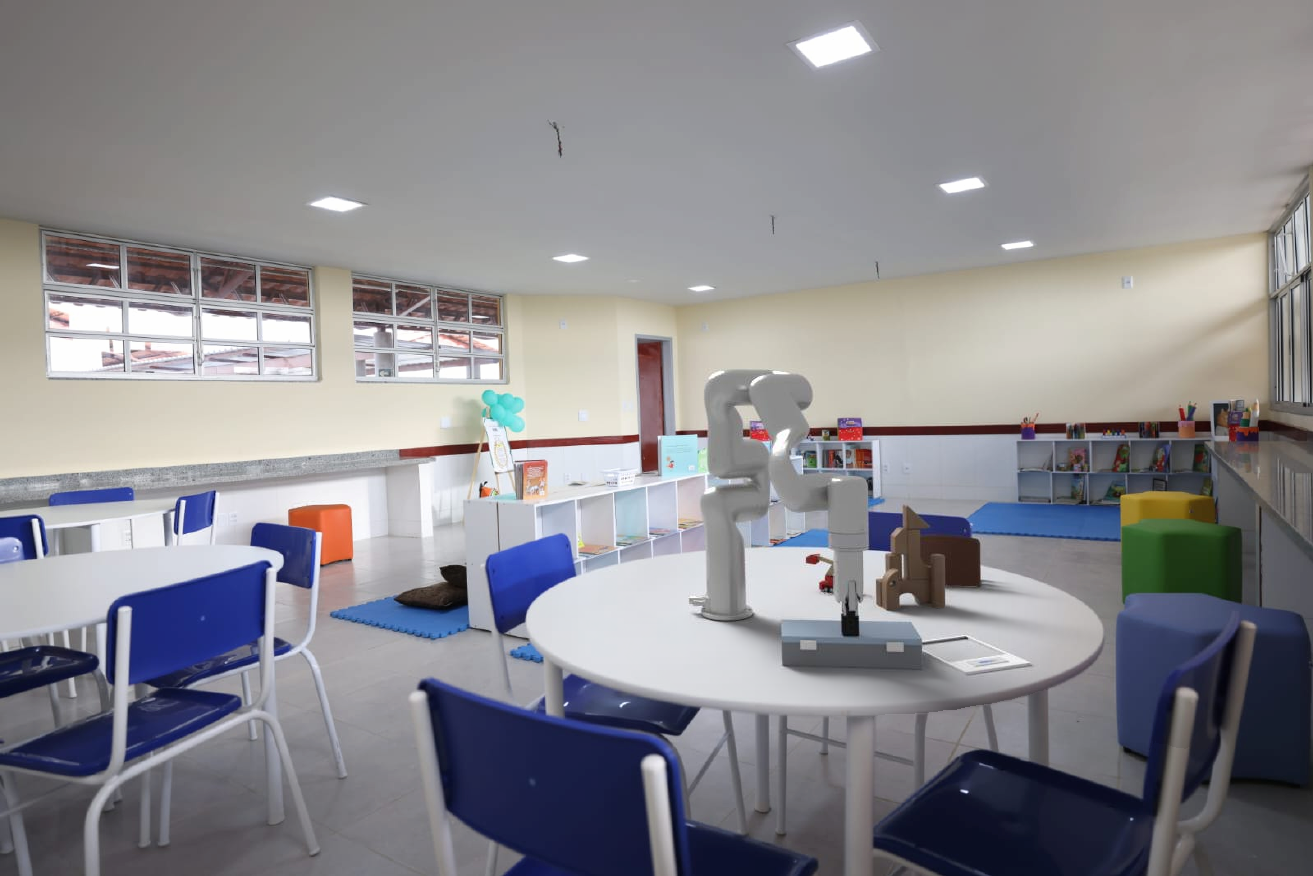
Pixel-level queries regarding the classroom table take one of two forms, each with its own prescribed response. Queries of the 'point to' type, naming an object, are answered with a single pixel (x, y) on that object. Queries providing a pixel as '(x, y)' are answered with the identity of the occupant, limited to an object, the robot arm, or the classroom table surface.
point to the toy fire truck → (828, 581)
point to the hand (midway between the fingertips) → (850, 634)
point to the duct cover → (869, 633)
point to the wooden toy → (911, 568)
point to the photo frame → (980, 659)
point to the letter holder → (954, 557)
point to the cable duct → (852, 656)
